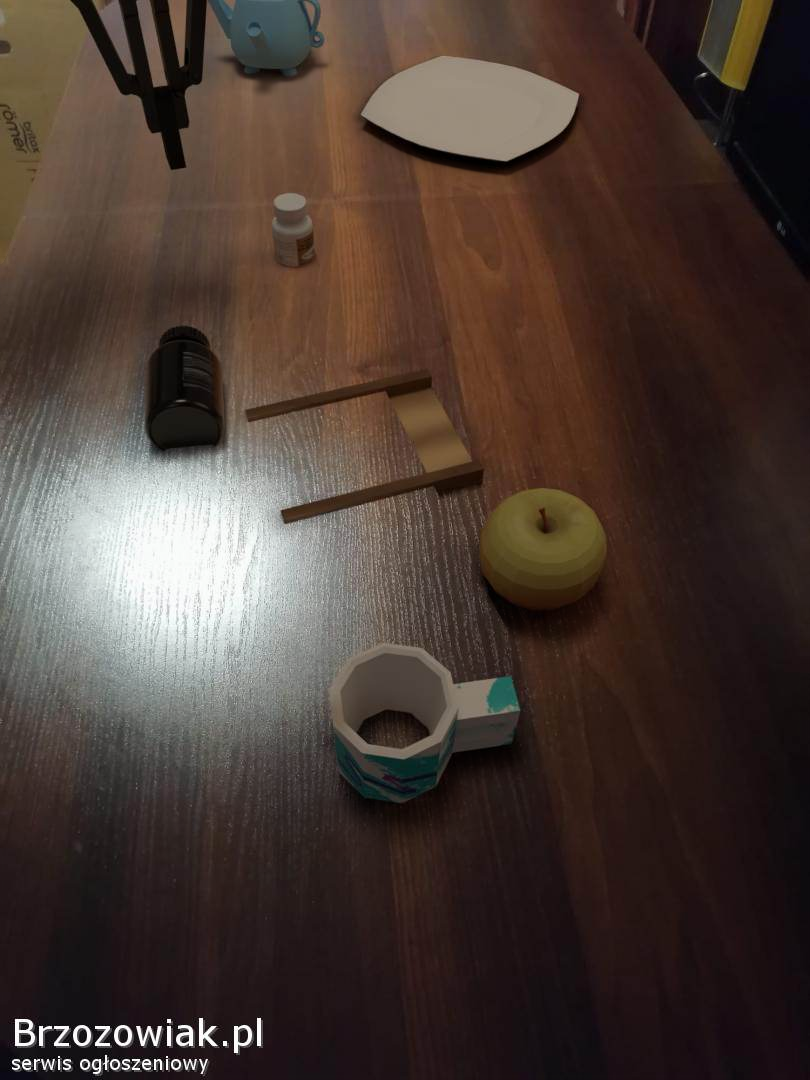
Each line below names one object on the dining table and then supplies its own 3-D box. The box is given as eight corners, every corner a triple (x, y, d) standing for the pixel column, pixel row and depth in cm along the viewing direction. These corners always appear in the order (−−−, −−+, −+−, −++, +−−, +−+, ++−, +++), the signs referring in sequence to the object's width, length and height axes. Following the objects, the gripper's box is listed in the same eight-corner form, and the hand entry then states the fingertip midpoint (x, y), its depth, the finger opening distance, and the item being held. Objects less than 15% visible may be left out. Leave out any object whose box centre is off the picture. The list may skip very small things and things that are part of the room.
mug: (330, 709, 62) (323, 649, 56) (491, 686, 64) (503, 625, 57) (344, 819, 57) (338, 768, 51) (518, 792, 59) (535, 738, 52)
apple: (496, 517, 74) (507, 451, 68) (607, 551, 72) (629, 487, 66) (459, 605, 68) (466, 542, 62) (578, 644, 66) (599, 584, 60)
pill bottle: (310, 279, 95) (305, 214, 89) (271, 274, 95) (264, 210, 89) (319, 256, 98) (315, 192, 91) (281, 252, 98) (274, 188, 92)
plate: (513, 189, 107) (515, 174, 106) (334, 130, 116) (334, 116, 114) (600, 105, 122) (603, 90, 120) (435, 58, 130) (436, 44, 128)
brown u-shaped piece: (247, 423, 81) (244, 409, 79) (427, 382, 85) (427, 368, 83) (285, 533, 72) (283, 520, 71) (482, 482, 76) (484, 468, 75)
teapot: (207, 55, 129) (194, -31, 120) (286, 34, 134) (279, -50, 126) (258, 95, 122) (248, 6, 113) (339, 71, 127) (336, -15, 118)
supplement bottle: (229, 457, 78) (226, 369, 85) (218, 401, 73) (217, 312, 80) (151, 463, 77) (156, 374, 84) (135, 407, 72) (141, 317, 79)
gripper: (27, -120, 61) (113, 193, 79) (209, -136, 64) (251, 169, 82) (19, -148, 65) (102, 154, 84) (190, -163, 68) (234, 133, 87)
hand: (176, 161), depth 83 cm, fingers closed
